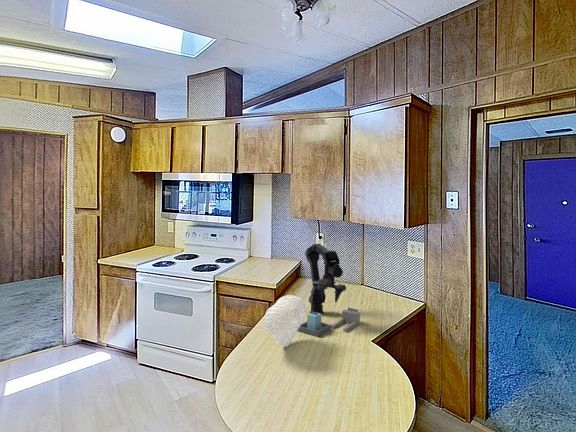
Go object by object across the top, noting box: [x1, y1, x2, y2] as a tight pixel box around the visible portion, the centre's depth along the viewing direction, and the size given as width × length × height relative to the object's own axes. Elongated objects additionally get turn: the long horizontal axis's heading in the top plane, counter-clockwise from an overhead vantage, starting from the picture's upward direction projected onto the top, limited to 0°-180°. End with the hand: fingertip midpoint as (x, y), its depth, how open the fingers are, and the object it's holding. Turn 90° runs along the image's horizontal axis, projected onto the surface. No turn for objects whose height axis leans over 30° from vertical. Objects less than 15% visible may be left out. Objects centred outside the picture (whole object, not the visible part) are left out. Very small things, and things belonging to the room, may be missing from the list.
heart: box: [264, 294, 307, 348], centre depth 162 cm, size 28×16×22 cm, turn 164°
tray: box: [297, 320, 332, 338], centre depth 182 cm, size 13×13×3 cm
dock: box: [330, 307, 361, 333], centre depth 190 cm, size 9×18×7 cm, turn 143°
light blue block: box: [306, 312, 322, 331], centre depth 182 cm, size 5×6×9 cm
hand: (328, 300), depth 194 cm, fingers open, 9 cm apart
